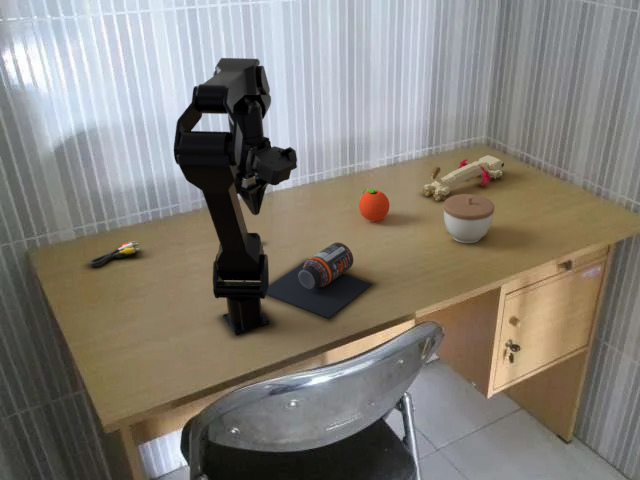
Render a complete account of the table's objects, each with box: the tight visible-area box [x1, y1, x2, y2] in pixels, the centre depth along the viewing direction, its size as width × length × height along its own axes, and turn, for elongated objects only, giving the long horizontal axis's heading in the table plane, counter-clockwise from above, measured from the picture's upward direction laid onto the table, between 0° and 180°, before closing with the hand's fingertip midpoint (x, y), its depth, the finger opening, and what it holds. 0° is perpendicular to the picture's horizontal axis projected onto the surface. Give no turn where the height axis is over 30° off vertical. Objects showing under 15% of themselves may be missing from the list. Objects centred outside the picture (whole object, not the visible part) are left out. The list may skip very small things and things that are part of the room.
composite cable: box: [89, 240, 141, 267], centre depth 137 cm, size 10×5×2 cm, turn 123°
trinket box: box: [443, 193, 495, 244], centre depth 145 cm, size 11×11×9 cm
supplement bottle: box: [298, 241, 354, 289], centre depth 130 cm, size 6×6×11 cm
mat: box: [266, 260, 373, 320], centre depth 129 cm, size 14×16×1 cm
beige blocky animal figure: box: [422, 155, 505, 202], centre depth 169 cm, size 10×9×25 cm
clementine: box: [358, 188, 390, 222], centre depth 153 cm, size 8×7×7 cm
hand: (255, 214), depth 126 cm, fingers closed
